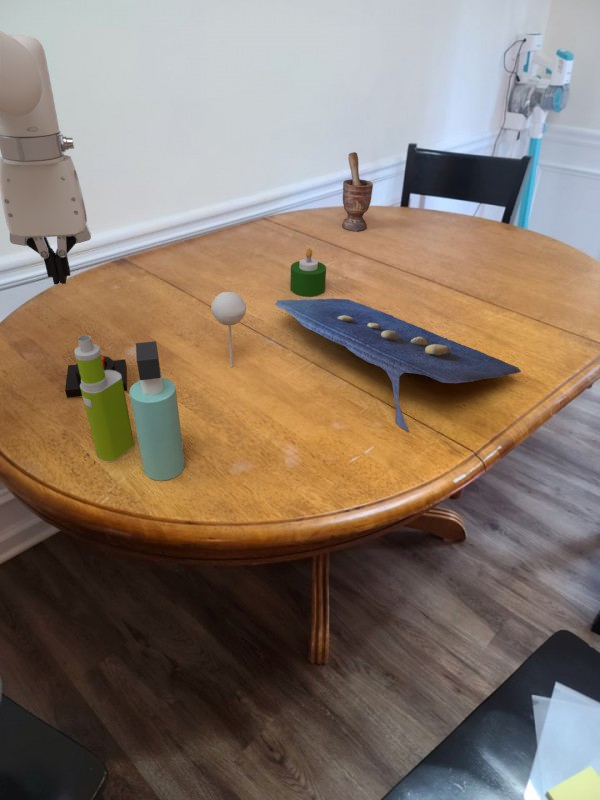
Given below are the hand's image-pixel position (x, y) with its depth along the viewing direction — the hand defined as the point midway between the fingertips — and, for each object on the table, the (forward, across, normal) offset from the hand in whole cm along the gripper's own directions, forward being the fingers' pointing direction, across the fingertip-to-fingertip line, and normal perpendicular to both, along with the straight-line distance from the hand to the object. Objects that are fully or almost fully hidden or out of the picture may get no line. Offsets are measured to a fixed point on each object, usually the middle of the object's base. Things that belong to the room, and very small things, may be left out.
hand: (60, 280), depth 84 cm
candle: (+20, -49, -35) cm, 64 cm away
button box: (+22, -2, -5) cm, 22 cm away
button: (+19, -2, -5) cm, 19 cm away
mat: (+21, -55, -2) cm, 59 cm away
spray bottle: (+22, -12, +20) cm, 32 cm away
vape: (+22, -5, +14) cm, 27 cm away
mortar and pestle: (+19, -74, -76) cm, 108 cm away
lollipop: (+21, -26, -5) cm, 34 cm away
